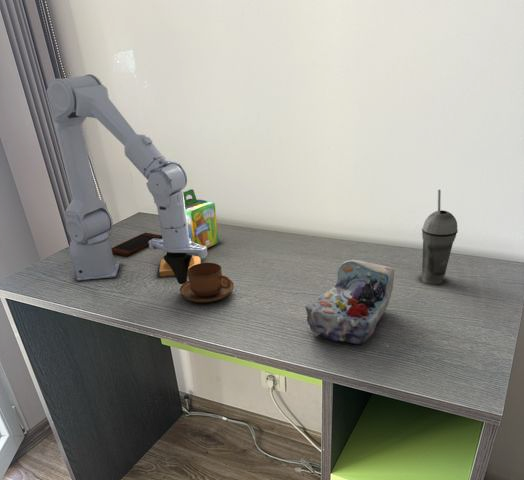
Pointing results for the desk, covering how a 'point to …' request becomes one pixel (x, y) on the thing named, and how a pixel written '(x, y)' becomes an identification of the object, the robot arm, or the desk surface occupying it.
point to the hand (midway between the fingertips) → (182, 282)
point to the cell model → (352, 302)
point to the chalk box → (201, 220)
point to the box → (167, 271)
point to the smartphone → (134, 244)
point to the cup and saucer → (206, 283)
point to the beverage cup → (437, 244)
